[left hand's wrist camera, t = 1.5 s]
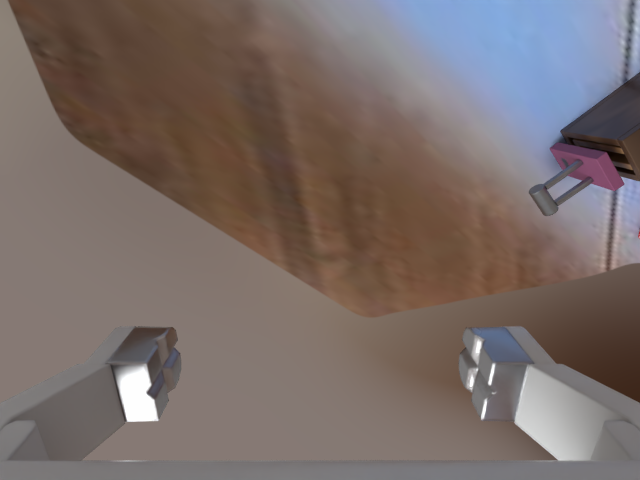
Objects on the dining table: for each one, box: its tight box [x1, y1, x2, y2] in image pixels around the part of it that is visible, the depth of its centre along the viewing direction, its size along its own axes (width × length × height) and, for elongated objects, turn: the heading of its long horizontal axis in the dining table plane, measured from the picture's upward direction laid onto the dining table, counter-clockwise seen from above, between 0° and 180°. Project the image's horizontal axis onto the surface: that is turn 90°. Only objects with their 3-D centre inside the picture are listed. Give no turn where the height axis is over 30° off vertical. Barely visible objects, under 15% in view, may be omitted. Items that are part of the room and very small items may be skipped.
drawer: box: [529, 138, 633, 216], centre depth 42 cm, size 22×4×8 cm, turn 131°
